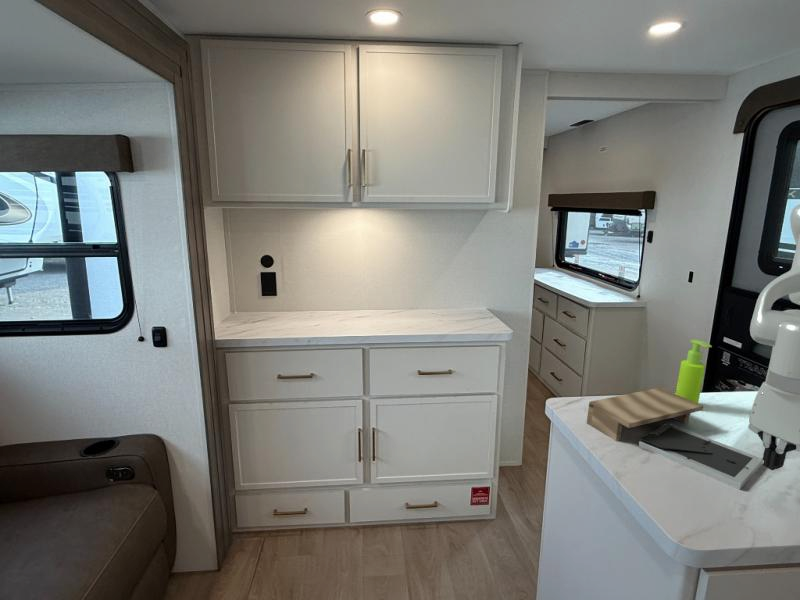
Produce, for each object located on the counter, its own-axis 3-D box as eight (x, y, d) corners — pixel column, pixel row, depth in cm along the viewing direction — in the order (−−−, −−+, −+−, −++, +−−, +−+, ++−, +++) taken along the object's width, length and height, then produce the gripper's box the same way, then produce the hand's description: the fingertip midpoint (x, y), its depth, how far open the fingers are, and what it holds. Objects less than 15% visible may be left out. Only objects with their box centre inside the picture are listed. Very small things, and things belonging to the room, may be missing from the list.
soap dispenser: (689, 412, 130) (702, 345, 125) (669, 401, 136) (680, 338, 131) (705, 410, 131) (718, 344, 127) (684, 399, 138) (696, 336, 133)
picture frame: (638, 448, 111) (738, 492, 95) (639, 438, 110) (741, 480, 95) (665, 429, 121) (761, 467, 105) (667, 420, 120) (764, 456, 104)
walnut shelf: (656, 407, 132) (660, 387, 131) (699, 427, 121) (703, 406, 120) (586, 423, 122) (589, 401, 120) (625, 446, 110) (629, 423, 109)
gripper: (850, 395, 84) (826, 484, 88) (760, 368, 98) (743, 445, 101) (828, 401, 81) (804, 492, 85) (739, 371, 95) (722, 451, 98)
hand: (771, 466), depth 93 cm, fingers closed
